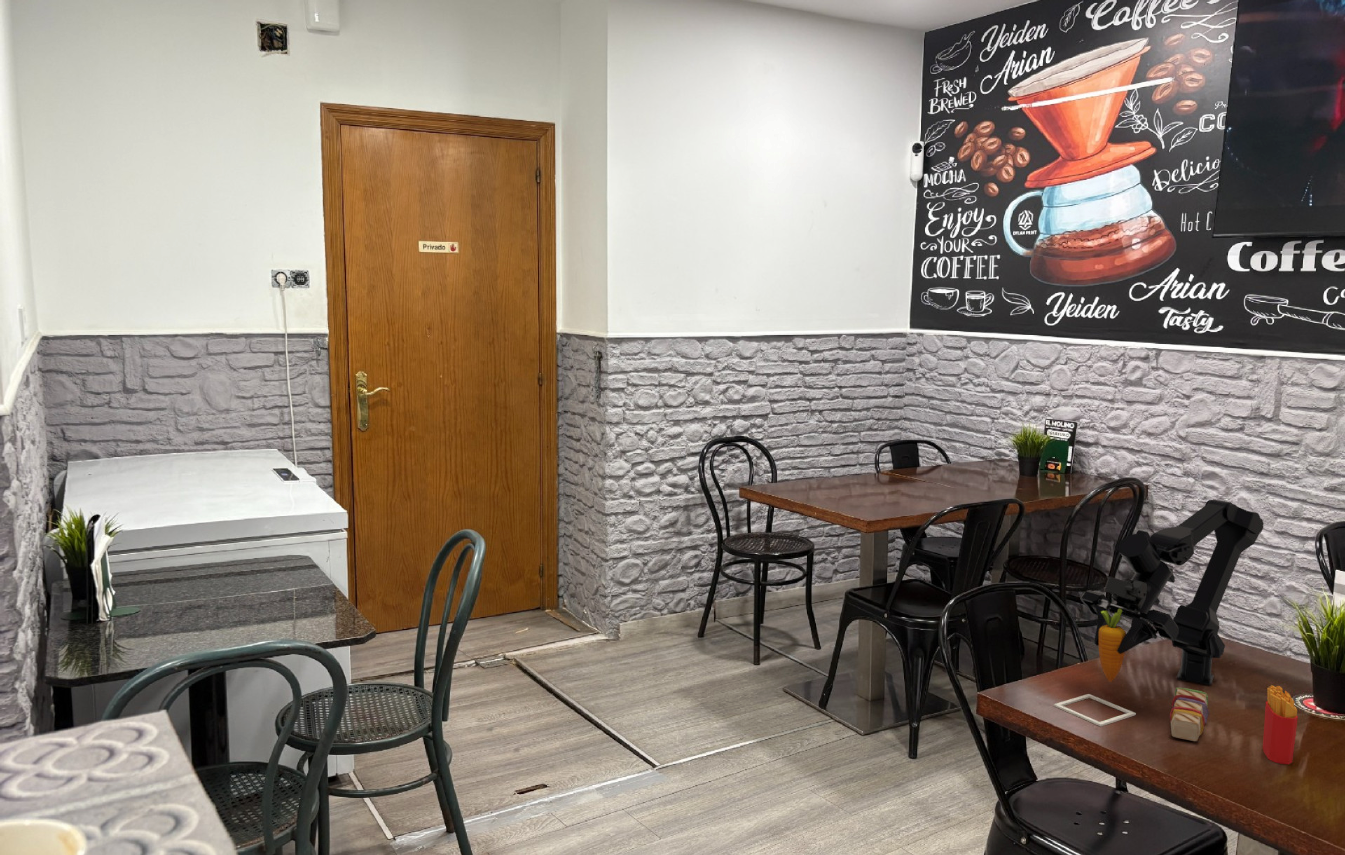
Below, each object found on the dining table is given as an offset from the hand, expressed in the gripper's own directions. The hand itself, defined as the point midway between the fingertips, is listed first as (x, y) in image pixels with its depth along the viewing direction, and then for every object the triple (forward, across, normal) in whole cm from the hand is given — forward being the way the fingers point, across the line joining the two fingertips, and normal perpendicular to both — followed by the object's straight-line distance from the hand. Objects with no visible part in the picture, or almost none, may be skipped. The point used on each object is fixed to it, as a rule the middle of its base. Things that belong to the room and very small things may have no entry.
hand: (1107, 648), depth 190 cm
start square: (+11, 0, +7) cm, 13 cm away
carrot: (+4, 0, +6) cm, 7 cm away
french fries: (+2, +28, +16) cm, 32 cm away
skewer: (+3, +12, +15) cm, 20 cm away
